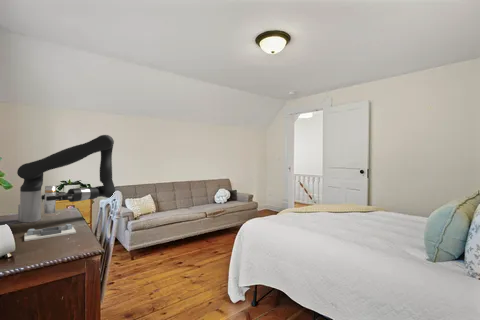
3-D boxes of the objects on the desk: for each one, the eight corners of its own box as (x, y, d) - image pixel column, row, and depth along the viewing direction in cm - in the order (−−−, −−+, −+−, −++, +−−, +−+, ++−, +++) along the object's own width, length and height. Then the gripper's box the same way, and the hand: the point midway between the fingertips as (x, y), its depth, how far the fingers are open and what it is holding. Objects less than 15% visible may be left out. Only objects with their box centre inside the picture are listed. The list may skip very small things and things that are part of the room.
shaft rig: (24, 241, 107) (24, 234, 107) (24, 235, 115) (24, 228, 115) (76, 233, 120) (76, 227, 120) (72, 228, 128) (73, 222, 128)
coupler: (41, 213, 127) (42, 186, 127) (49, 211, 132) (50, 185, 132) (50, 213, 127) (51, 186, 127) (57, 212, 131) (58, 185, 131)
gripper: (72, 186, 145) (37, 189, 130) (86, 189, 138) (51, 192, 123) (72, 199, 145) (37, 203, 130) (85, 202, 138) (50, 207, 123)
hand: (44, 198), depth 127 cm, fingers closed on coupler, 4 cm apart
